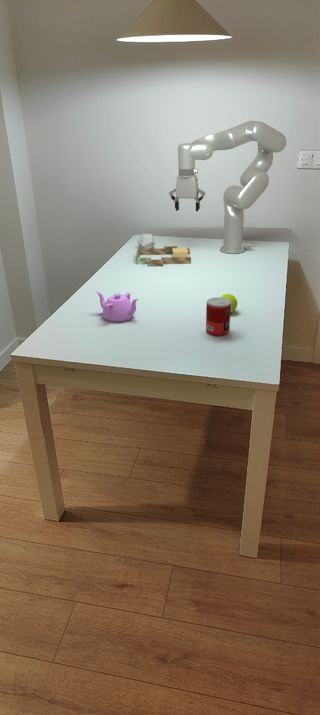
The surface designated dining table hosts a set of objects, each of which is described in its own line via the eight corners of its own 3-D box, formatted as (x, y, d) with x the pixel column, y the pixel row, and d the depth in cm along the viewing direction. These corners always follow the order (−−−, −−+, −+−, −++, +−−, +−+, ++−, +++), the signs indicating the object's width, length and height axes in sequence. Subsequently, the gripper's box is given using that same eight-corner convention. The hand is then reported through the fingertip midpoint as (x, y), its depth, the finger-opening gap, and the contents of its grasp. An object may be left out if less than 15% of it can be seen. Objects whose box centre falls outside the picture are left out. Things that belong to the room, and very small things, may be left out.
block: (186, 256, 254) (186, 248, 252) (187, 261, 248) (187, 251, 246) (172, 257, 254) (172, 248, 252) (173, 261, 248) (173, 252, 246)
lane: (189, 251, 261) (189, 244, 259) (191, 265, 240) (191, 257, 239) (138, 252, 262) (138, 244, 260) (135, 266, 241) (135, 258, 239)
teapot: (139, 321, 183) (138, 298, 179) (100, 325, 181) (98, 301, 177) (134, 309, 194) (133, 287, 190) (97, 312, 192) (95, 290, 187)
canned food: (228, 337, 170) (230, 306, 165) (204, 335, 172) (205, 305, 167) (230, 327, 177) (231, 297, 172) (206, 326, 178) (207, 296, 173)
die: (138, 248, 271) (132, 236, 263) (151, 238, 272) (146, 226, 264) (146, 256, 267) (141, 245, 259) (159, 247, 268) (155, 235, 260)
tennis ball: (232, 317, 185) (233, 299, 182) (214, 314, 188) (215, 296, 185) (239, 310, 191) (240, 292, 187) (222, 307, 194) (222, 290, 190)
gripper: (206, 171, 236) (206, 209, 244) (170, 171, 241) (171, 208, 249) (203, 173, 230) (203, 212, 238) (166, 173, 235) (167, 211, 243)
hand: (187, 210), depth 243 cm, fingers open, 9 cm apart
